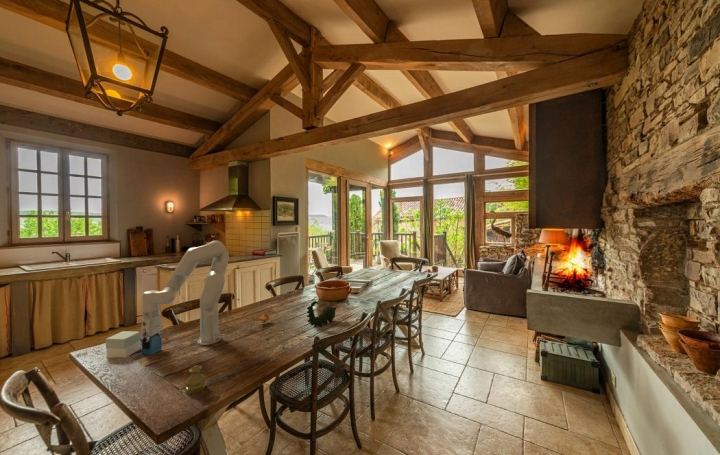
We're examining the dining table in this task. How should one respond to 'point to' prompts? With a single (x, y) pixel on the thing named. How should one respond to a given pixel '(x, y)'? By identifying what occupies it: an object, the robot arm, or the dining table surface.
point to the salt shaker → (195, 380)
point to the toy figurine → (326, 315)
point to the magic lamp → (263, 317)
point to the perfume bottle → (153, 345)
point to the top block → (122, 339)
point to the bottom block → (123, 350)
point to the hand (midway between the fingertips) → (151, 345)
